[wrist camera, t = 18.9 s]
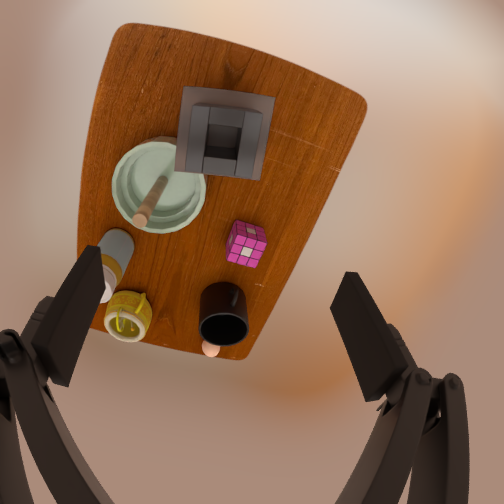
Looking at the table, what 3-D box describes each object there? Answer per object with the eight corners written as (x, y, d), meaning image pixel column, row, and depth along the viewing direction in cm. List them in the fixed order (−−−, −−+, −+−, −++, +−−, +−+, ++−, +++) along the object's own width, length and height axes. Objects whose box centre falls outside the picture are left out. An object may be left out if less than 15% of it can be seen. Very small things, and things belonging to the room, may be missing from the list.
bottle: (141, 241, 54) (121, 289, 42) (124, 262, 56) (103, 311, 44) (115, 220, 51) (86, 263, 39) (98, 243, 53) (70, 288, 41)
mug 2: (257, 279, 62) (263, 310, 54) (235, 319, 68) (237, 350, 59) (213, 265, 59) (212, 296, 51) (194, 308, 65) (192, 340, 57)
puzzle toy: (252, 252, 58) (255, 268, 53) (225, 244, 56) (226, 260, 52) (263, 228, 55) (267, 243, 51) (235, 219, 54) (237, 233, 49)
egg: (202, 343, 71) (202, 360, 67) (202, 332, 69) (201, 349, 64) (219, 344, 72) (220, 361, 67) (219, 332, 70) (220, 350, 65)
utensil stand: (200, 88, 40) (175, 84, 19) (254, 94, 42) (286, 98, 21) (193, 139, 45) (165, 187, 24) (245, 145, 47) (266, 197, 25)
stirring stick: (157, 175, 47) (131, 213, 33) (168, 176, 47) (147, 214, 34) (156, 185, 48) (132, 227, 34) (167, 186, 48) (147, 228, 35)
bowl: (124, 133, 43) (112, 140, 38) (212, 139, 45) (211, 146, 40) (123, 214, 51) (113, 229, 46) (202, 221, 53) (200, 237, 48)
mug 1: (139, 327, 67) (131, 365, 57) (103, 304, 62) (89, 341, 52) (167, 299, 63) (160, 339, 53) (127, 273, 58) (112, 311, 48)
